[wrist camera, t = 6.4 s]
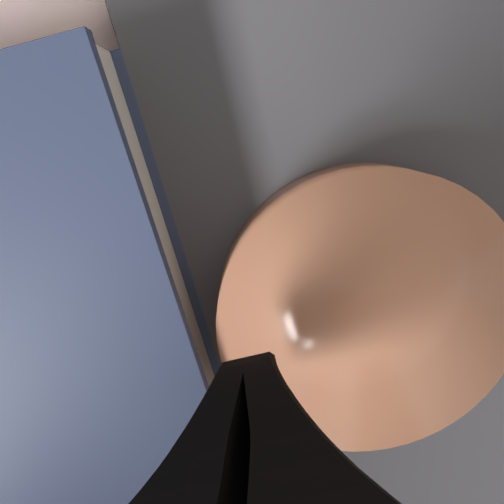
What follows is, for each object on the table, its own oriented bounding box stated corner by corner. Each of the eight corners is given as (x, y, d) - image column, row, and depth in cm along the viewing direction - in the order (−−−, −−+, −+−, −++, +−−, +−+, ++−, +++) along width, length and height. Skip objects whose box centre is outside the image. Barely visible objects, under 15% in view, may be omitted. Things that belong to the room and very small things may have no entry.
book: (267, 510, 17) (272, 590, 14) (-21, 570, 17) (-73, 658, 14) (124, 51, 11) (84, 26, 8) (-291, 163, 12) (-461, 176, 9)
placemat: (578, 482, 17) (586, 490, 16) (277, 543, 17) (278, 552, 17) (591, -169, 10) (605, -180, 10) (98, -30, 11) (93, -35, 10)
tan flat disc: (491, 382, 14) (529, 421, 13) (251, 430, 15) (252, 474, 13) (481, 132, 12) (528, 133, 10) (188, 197, 12) (178, 211, 10)
